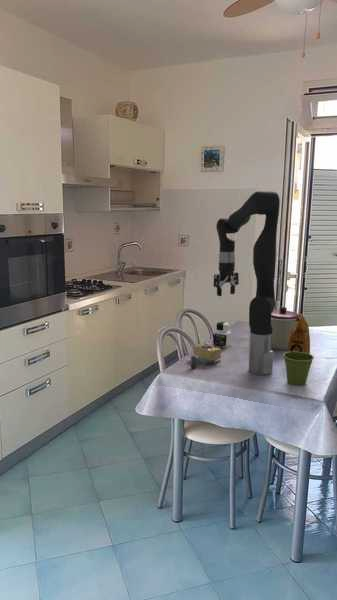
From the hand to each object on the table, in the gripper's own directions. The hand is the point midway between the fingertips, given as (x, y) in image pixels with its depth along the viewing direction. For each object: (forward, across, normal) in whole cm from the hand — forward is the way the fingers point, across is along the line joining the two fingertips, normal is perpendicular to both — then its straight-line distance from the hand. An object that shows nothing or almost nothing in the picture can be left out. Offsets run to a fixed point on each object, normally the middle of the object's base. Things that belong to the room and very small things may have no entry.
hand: (225, 294), depth 221 cm
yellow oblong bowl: (+26, +17, +6) cm, 32 cm away
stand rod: (+28, +28, +10) cm, 41 cm away
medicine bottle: (+28, -6, -8) cm, 30 cm away
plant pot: (+28, +6, +48) cm, 56 cm away
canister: (+28, -28, +12) cm, 42 cm away
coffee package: (+28, -14, +33) cm, 46 cm away
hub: (+28, +17, +6) cm, 33 cm away
